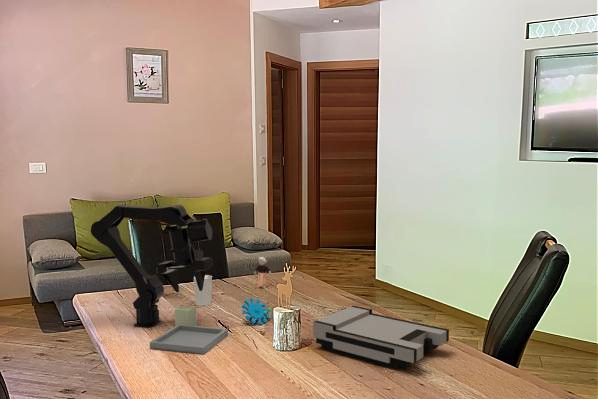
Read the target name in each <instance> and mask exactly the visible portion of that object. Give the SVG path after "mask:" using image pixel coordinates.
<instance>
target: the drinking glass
mask: <svg viewBox="0 0 598 399" xmlns="http://www.w3.org/2000/svg"><path fill="white" fill-rule="evenodd" d="M212 280H213V276H212V275H209V274H205V278H204V284H203V290H202V291H200V290H199V288H198V285H197V282H196V279H195V276H193V288H194V302H195V305H196V306H200V307H203V306H204V307H205V306H206V307H207V306H209V305H211V304H212V289H213V288H212V286H213V281H212Z"/></svg>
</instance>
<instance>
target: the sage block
mask: <svg viewBox="0 0 598 399" xmlns="http://www.w3.org/2000/svg"><path fill="white" fill-rule="evenodd" d="M174 322H175V323H174V324H175V325H174V327H175V326H177V325H178V324H180V325H191V326H197V305H196V306H193V305H183V304H182V305H181V306H179V307H177V308H175V309H174Z"/></svg>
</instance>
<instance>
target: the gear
mask: <svg viewBox="0 0 598 399" xmlns="http://www.w3.org/2000/svg"><path fill="white" fill-rule="evenodd" d="M254 301H255V298H254V297H250V298H249V299H247V298H246V299H245V300H244V303H242V305H241V308H243V309H242V311H241V312H242V313H241V314H242V315H244V314H245V316H244V317H245V319H246V320H247V321H250V323H252V324H253V325H255V323H256V320H258V321H257V323H256V324H257V325H258V326H261V325H262V324H265V323H267V322H268V319H269V318H270V316H271V315H270V314H269V313H270V312H271V311H272V307H267V308H266V306H267V304H266V303H265V302H263V303H262V304H260V303H261V299H259V298H257V299H256V301H255V302H254Z"/></svg>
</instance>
